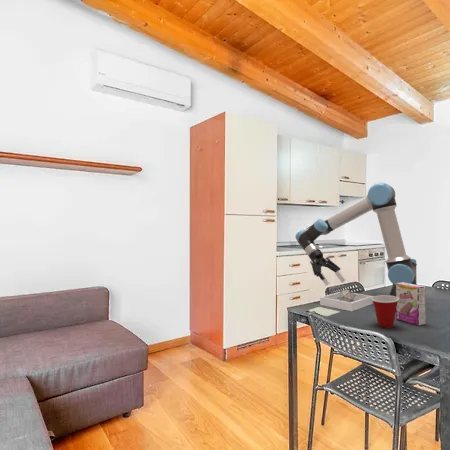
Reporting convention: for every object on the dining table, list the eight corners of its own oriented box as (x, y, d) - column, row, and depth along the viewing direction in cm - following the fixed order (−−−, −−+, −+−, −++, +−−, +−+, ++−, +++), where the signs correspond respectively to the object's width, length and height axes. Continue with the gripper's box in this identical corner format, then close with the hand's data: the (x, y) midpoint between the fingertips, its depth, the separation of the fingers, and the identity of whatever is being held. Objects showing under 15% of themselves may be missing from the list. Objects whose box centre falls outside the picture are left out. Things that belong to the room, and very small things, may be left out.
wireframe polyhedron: (350, 312, 181) (358, 299, 175) (334, 305, 183) (341, 293, 177) (351, 300, 188) (358, 287, 182) (336, 294, 190) (343, 281, 184)
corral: (373, 303, 183) (373, 296, 183) (351, 311, 169) (351, 303, 168) (342, 298, 196) (342, 291, 196) (320, 304, 182) (320, 297, 182)
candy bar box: (395, 319, 155) (394, 283, 154) (402, 317, 157) (402, 281, 156) (418, 326, 145) (418, 287, 144) (426, 324, 147) (426, 286, 146)
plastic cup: (366, 322, 151) (366, 295, 151) (390, 321, 152) (389, 294, 152) (379, 330, 140) (379, 300, 140) (404, 329, 141) (404, 300, 141)
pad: (339, 312, 167) (339, 311, 167) (326, 316, 160) (326, 315, 160) (318, 307, 176) (318, 306, 176) (305, 311, 169) (305, 310, 169)
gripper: (324, 255, 209) (346, 284, 197) (295, 258, 194) (316, 289, 182) (331, 247, 204) (354, 275, 192) (302, 250, 190) (324, 281, 178)
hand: (336, 282), depth 187 cm, fingers open, 13 cm apart
